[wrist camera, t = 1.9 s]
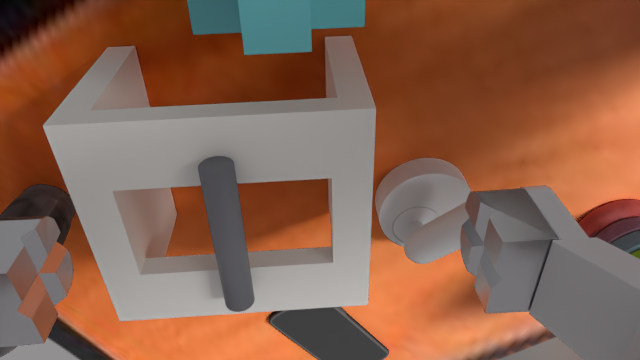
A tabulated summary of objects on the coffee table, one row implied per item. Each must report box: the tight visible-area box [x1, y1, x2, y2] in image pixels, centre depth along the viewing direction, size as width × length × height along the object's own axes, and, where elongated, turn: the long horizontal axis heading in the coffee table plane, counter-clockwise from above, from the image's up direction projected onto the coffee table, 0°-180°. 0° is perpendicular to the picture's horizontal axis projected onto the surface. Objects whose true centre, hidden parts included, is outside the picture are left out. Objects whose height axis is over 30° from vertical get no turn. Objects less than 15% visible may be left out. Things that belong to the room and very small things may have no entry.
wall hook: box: [375, 158, 471, 264], centre depth 42 cm, size 9×10×10 cm
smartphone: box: [269, 307, 389, 360], centre depth 57 cm, size 7×1×15 cm
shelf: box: [43, 35, 376, 321], centre depth 36 cm, size 18×16×14 cm
